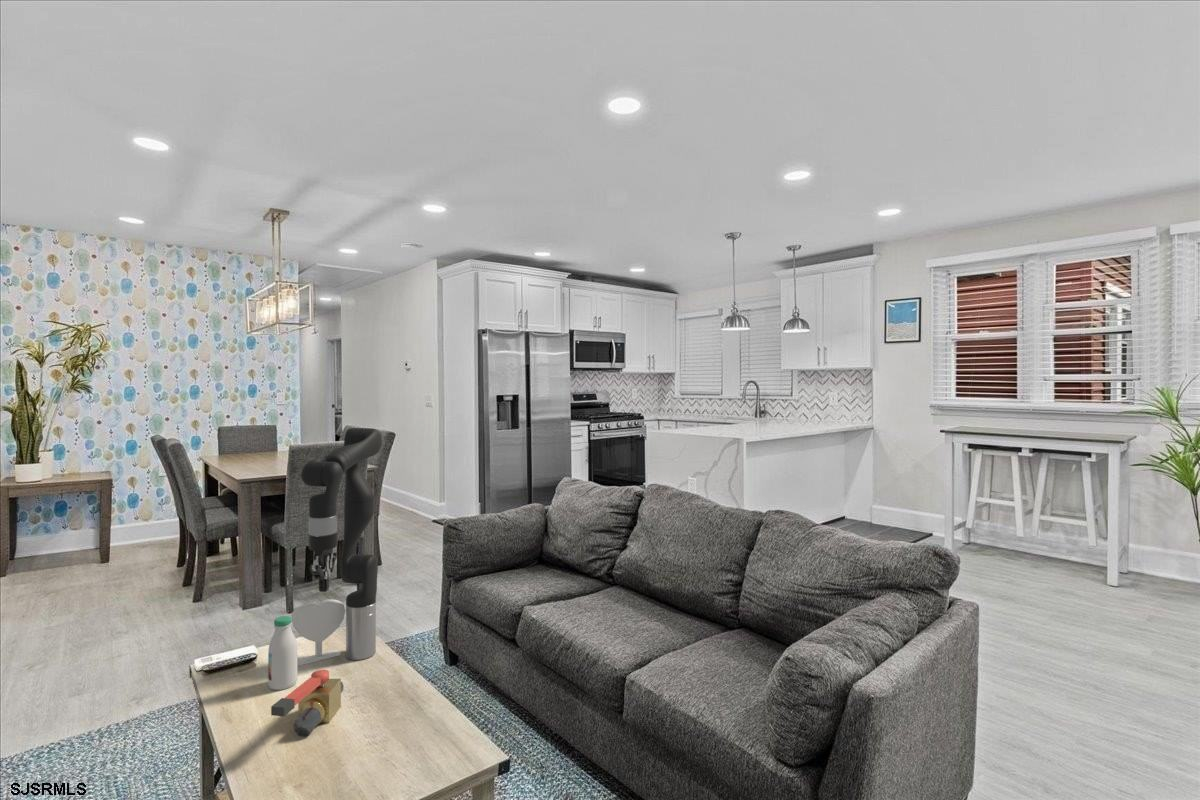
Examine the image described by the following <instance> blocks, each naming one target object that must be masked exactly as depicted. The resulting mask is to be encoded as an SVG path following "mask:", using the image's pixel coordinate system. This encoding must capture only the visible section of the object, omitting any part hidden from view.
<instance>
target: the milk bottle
mask: <svg viewBox="0 0 1200 800" xmlns="http://www.w3.org/2000/svg"><path fill="white" fill-rule="evenodd" d="M273 620H274V621H273V624H274V626H273V627H274V632H273V635H272V637H271V640H270V642H269V646H268V656H267V657H268V659H267V660H268V663H267V664H268V665H267V666H268V667H267V668H268V669H267V671H268V672H267V673H268V674H267V675H268V677H267V679H268V681H267V683H268V688H269V689H271V690H273V691H282V690H287V689H289V688H291V687H294V685H296V684H297V682H298V664H297V660H298V643H297V638H296V636H295V634H294V633H293V631H292V627H291V626H292V616H289V615H283V616H278V617H276V618H275V619H273Z"/></svg>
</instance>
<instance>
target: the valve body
mask: <svg viewBox="0 0 1200 800" xmlns="http://www.w3.org/2000/svg"><path fill="white" fill-rule="evenodd" d="M344 688H345V687H344V684H343V681H342V680H341V678H329V681H328V682H326V683H324V684H320V685H319V686H318V687H317V688H316V689H314V690H313V691H312V692H311V693H310V694H308V695H307V696H306V697H305V698H304V699H302V700H301V701H300V702H299V703H298V704H297V705H298V709H297V710H298V711H297V712H298V718H296V720H295V721H294V724H293V730H294V732H295V733H296V734H297V735H298V736H300V737H307V736H309V735H310V734H312V733H313V731H314V730H315V729H316V727H317V726H318V725H319V724H330V722H331V721H332V720H333V718H334V717H335V716H336V714H337V713H338V712H339V710H340V709H341V707H342V705H341V704H342V698H341V697H342V693H343V691H344Z"/></svg>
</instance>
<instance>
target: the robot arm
mask: <svg viewBox="0 0 1200 800" xmlns="http://www.w3.org/2000/svg"><path fill="white" fill-rule="evenodd" d="M344 434H345V435H344V438H343V440H344V441H343V446H340V447H338V448H336V449H334V450H332V451H331V452H329V453H328V454H327V455H325V456H324V455H323V456H320V457H317V458H313V459H312V460H310V461H308V462H306V464H305V465H303V468H302V470H301V475H300V477H301V481H302V482H303V483H304V484H305V485H306V486H308V487H325V490H324V492H323V493H317V494H314V495H312V496H311V497H310V498H309V500H308V507H309V508H308V510H309V511H308V512H309V513H308V549H309V550H310V551H313V563H312V564H310V565H309V566H308V568H309V569H308V570H309V571H310V573H311V575H312V577H313V579H314V580H318V591H319V592H321V593H323V592H324V593H325V592H327V591H328V590H329V589H330V577H331V573H333V571H334V569H335V563H336V561H337V560H336V559H337V557H338V552H334V549H335V548H337V546H338V545H339V543H338V538H339V537H338V536H339V535H338V517H337V500H338V499H337V498H338V493H339V489H340V486H341V482H342V481H343V480H342V479H343V474H345V475H344V476H345V481H344V483H345V487H344V503H343V505H344V506H343V507H344V508H343V515H344V516H343V523H344V524H343V526H344V527H343V541H342V542H343V543H342V551H341V553H342V554H341V560H340V562H341V563H340V578H341V580H342V582H343V583H346V584H362V588H361V589H358V590H355V591H353V592H350V593H349V594H347V596H346V597H345V598H346V599H345V658H346V659H348V660H352V661H360V660H365V659H369V658H370V657H373V656H374V655H375V654H376V653H377V649H376V648H377V647H376V645H377V644H376V641H377V639H376V638H377V627H376V626H377V625H376V624H377V621H376V620H377V617H376V616H377V607H376V605H377V592H378V574H379V573H378V572H379V570H378V569H379V565H378V564H379V563H378V558H377V557H376V555H374V554H358V553H357V546H358V542H359V540H360V538H361V536H362V534H363V532H364V531H365V529H366V528H367V526H368V525H370V522H371V521H372V519H373V517H374V514H375V513H374V511H375V494H374V491H373V489H372V487H371V486H370V484H369V482H368V480H366V477H365V476H364V475H363V472H362V470H361V466H360V462H362V461H363V460H364V461H365V460H366V459H369V458H370V457H373V456H376V455H378V453H380V452H381V451H380V450H381V449H382V444H383V436H382V433H381V431H380V430H378V429H376V428H372V427H371V428H368V427H356V428H355V427H351V428H348V429H347V430H346V431H345V433H344Z"/></svg>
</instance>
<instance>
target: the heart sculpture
mask: <svg viewBox="0 0 1200 800" xmlns="http://www.w3.org/2000/svg"><path fill="white" fill-rule="evenodd" d="M345 615H346V607H345V604H343V602H342V601H340V600H338V599H324V600H322V601H321V602H319V603H318V604H316V603H313V602H308V603H305V604H303V605H300V606H297V607H296V608H295V609H294V610H293V611H292V614H291V619H292V622H291V624H292V627H293V629H294V630H295V631H296V632H297V633H298V634H299V636H301V637H302V638H304V639H306V640H307V641H312V642H315V654H313V655H309V656H305V657H300V658H297V665H300V666H302V665H307V664H311V663H314V662H318V661H323V660H327V659H330V658H334V657H338V656H340V655H341V651H340V650H336V649H333V650H329V651H325V652H323V642H324V641H325V640H326V639H328V638H329V637H330V636H331V635H333V633H334V632H336V630H338V629H339V628H340V626H341V624H342V623H343V621H344V618H345Z"/></svg>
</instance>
